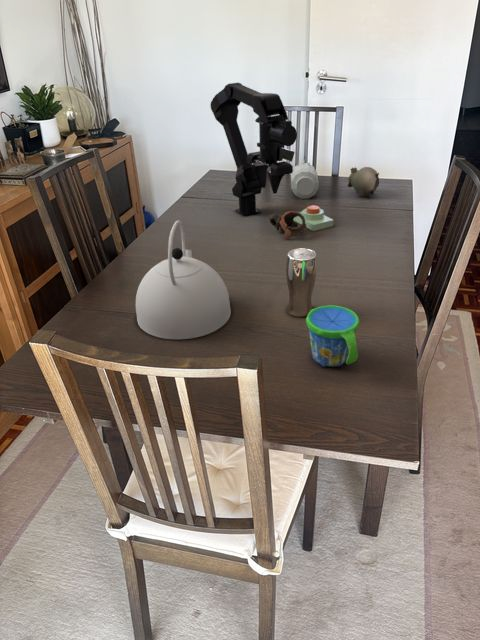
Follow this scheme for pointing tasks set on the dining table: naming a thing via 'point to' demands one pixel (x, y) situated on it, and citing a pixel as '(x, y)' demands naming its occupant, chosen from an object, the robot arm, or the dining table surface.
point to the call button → (313, 209)
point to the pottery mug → (288, 223)
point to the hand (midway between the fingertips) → (269, 190)
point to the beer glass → (300, 280)
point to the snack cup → (333, 335)
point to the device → (304, 180)
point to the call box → (315, 220)
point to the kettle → (181, 296)
